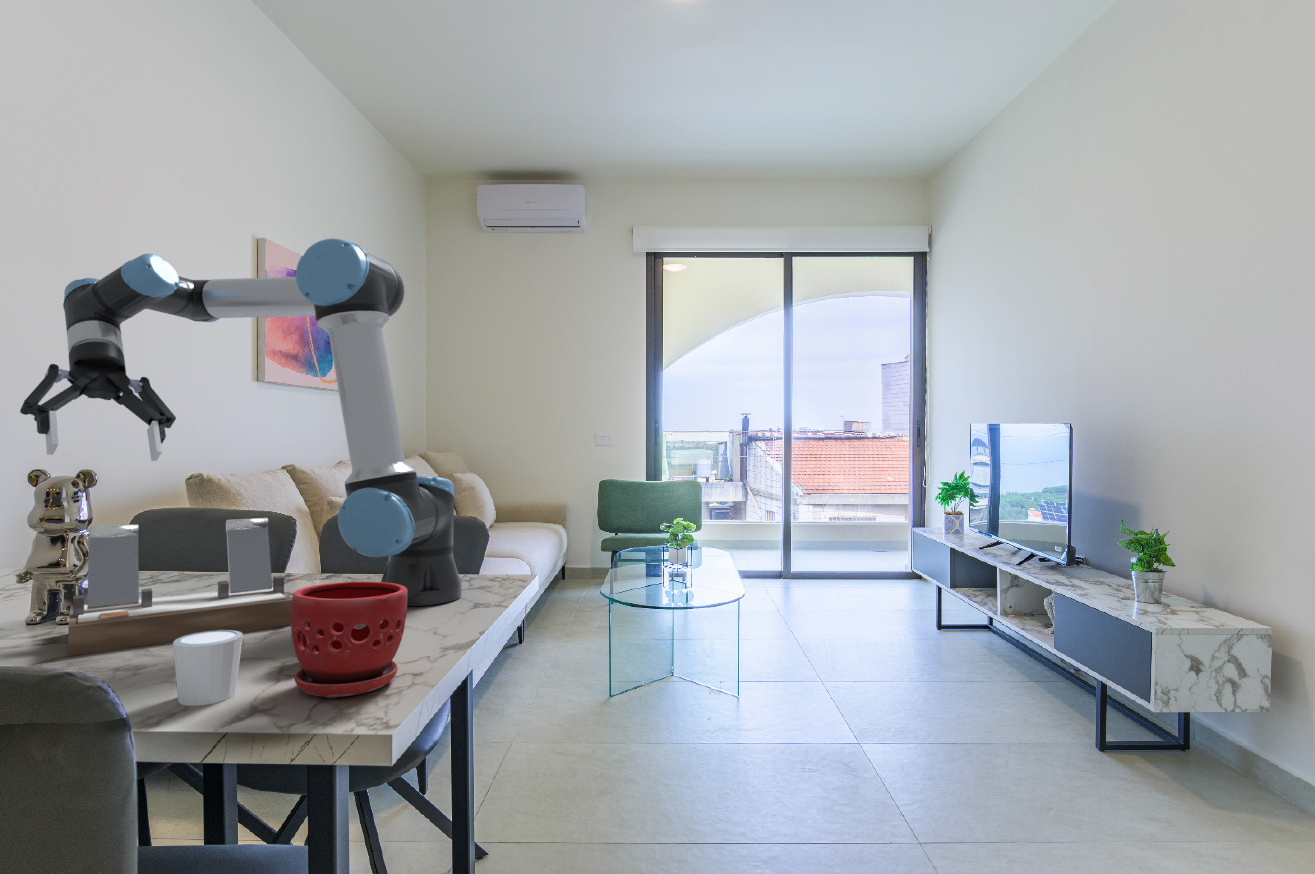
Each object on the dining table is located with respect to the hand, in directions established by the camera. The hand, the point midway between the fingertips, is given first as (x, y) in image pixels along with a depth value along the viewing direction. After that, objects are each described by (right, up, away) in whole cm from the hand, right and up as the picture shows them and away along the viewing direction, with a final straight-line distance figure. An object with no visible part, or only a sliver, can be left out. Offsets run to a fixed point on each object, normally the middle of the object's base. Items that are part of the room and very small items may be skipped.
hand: (107, 453), depth 112 cm
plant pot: (+51, -28, -26) cm, 63 cm away
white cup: (+36, -28, -31) cm, 55 cm away
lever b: (+7, -23, -8) cm, 26 cm away
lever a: (+21, -23, +3) cm, 32 cm away
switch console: (+14, -28, -3) cm, 31 cm away
